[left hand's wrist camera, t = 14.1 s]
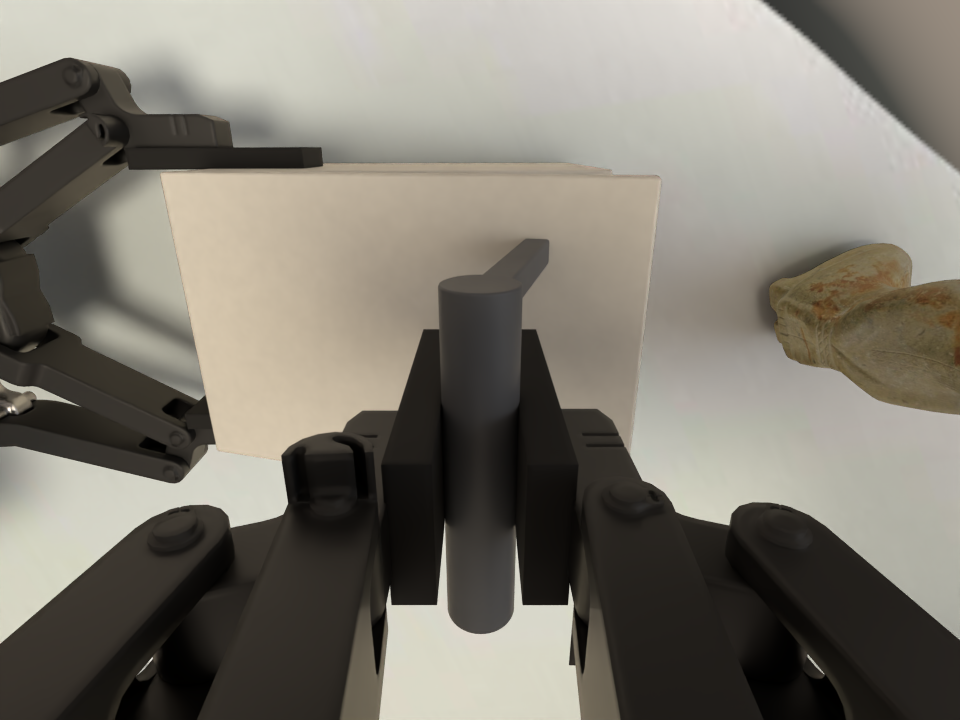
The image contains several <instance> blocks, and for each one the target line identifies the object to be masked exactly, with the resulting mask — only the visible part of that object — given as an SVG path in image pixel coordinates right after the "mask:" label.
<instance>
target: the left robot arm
mask: <svg viewBox="0 0 960 720" xmlns="http://www.w3.org/2000/svg"><path fill="white" fill-rule="evenodd" d="M281 459H282V465H283V472H284V478H285V485H286V491H287V498H288V505H287V508H286V510H285V512H284V515H281V516H279V517H277V518H273V519H270V520H266V521H262V522H258V523H253V524H248V525H243V526H238V527H233V528H230V523H229V518H228V516H227V515H226V514H225V513H224V511H223V510H222V509H220V508H217V507H213V506H209V505H189V506H183V507H180V508H179V507H178V508H174V509H170V510H168V511H166V512H164V513H161V514H159V515H157V516H154V517H152V518H150V519H149V520H147V521H146V522H144V523H143V524H141V525H140V526H138V527H137V528H135V529H134V530H133V531H132V532H130V533H129V534H128V535H127V536H126V537H125V538H123V539H122V540H121V541H120V542H119V543H118V544H116V545H115V546H114V547H113V548H112V549H111V550H109V551H108V552H107V553H106V554H105V555H104V556H102V557H101V558H100V559H99V560H98V561H97V562H95V563H94V564H93V565H92V566H91V567H90V568H88V569H87V570H86V571H85V572H84V573H83V574H81V575H80V576H79V577H78V578H77V579H76V580H74V581H73V582H72V583H71V584H70V585H69V586H67V587H66V588H65V589H64V590H63V591H62V592H60V593H59V594H58V595H57V596H56V597H55V598H53V599H52V600H51V601H50V602H49V603H48V604H46V605H45V606H44V607H43V608H42V609H41V610H39V611H38V612H37V613H36V614H35V615H33V616H32V617H31V618H30V619H29V620H28V621H26V622H25V623H24V624H23V625H22V626H21V627H19V628H18V629H17V630H16V631H15V632H14V633H12V634H11V635H10V636H9V637H8V638H7V639H5V640H4V641H3V642H2V643H1V644H0V720H379V714H380V704H381V694H382V684H383V675H384V665H385V655H386V645H387V635H388V623H387V611H386V602H387V597H388V592H389V587H390V590H391V603H392V605H437V598H438V587H439V577H440V566H441V555H442V545H443V534H444V523H445V500H444V468H443V435H442V403H441V370H440V338H439V329H423V332H422V335H421V339H420V342H419V345H418V348H417V351H416V354H415V358H414V361H413V364H412V367H411V370H410V374H409V377H408V380H407V383H406V386H405V389H404V393H403V396H402V399H401V402H400V405H399V409H398V410H376V411H361V412H360V413H358V414H357V415H356V416H354V417H353V418H352V419H350V420H349V421H348V422H347V423H346V425H345V428H344V430H343V432H330V433H322V434H317V435H313V436H310V437H307V438H304V439H301V440H300V441H298V442H296V443H294V444H293V445H291V446H289V447H288V448H287V449H286V451H285V452H284V453H283V454H282V455H281ZM515 528H516V539H517V550H518V560H519V571H520V582H521V592H522V603H523V605H568V597H569V584H570V587H571V592H572V596H573V601H574V611H573V623H572V635H571V647H570V660H569V665H576V674H577V684H578V693H579V703H580V713H581V720H960V640H959V639H958V638H957V637H955V636H954V635H953V634H952V633H951V632H949V631H948V630H947V629H946V628H945V627H944V626H942V625H941V624H940V623H939V622H938V621H937V620H935V619H934V618H933V617H932V616H931V615H929V614H928V613H927V612H926V611H925V610H924V609H922V608H921V607H920V606H919V605H918V604H916V603H915V602H914V601H913V600H912V599H911V598H909V597H908V596H907V595H906V594H905V593H904V592H902V591H901V590H900V589H899V588H898V587H896V586H895V585H894V584H893V583H892V582H891V581H889V580H888V579H887V578H886V577H885V576H883V575H882V574H881V573H880V572H879V571H878V570H876V569H875V568H874V567H873V566H872V565H871V564H869V563H868V562H867V561H866V560H865V559H863V558H862V557H861V556H860V555H859V554H858V553H856V552H855V551H854V550H853V549H852V548H850V547H849V546H848V545H847V544H846V543H845V542H843V541H842V540H841V539H840V538H839V537H838V536H836V535H835V534H834V533H833V532H832V531H830V530H829V529H828V528H827V527H826V526H824V525H823V524H821V523H820V522H818V521H817V520H815V519H814V518H812V517H811V516H809V515H807V514H805V513H802V512H800V511H798V510H795V509H793V508H791V507H788V506H784V505H779V504H774V503H755V502H752V503H749V504H745V505H742V506H739V507H738V508H737V509H736V510H735V511H734V512H733V513H732V515H731V520H730V525H729V526H728V525H723V524H718V523H714V522H709V521H704V520H699V519H695V518H691V517H688V516H684V515H681V514H679V513H677V512H675V509H674V507H673V505H672V502H671V501H670V500H669V498H668V497H667V496H666V494H665V493H664V492H663V491H661V490H660V489H658V488H657V487H655V486H654V485H652V484H650V483H647V482H644V481H642V479H641V477H640V475H639V473H638V471H637V469H636V467H635V465H634V463H633V461H632V459H631V457H630V455H629V453H628V451H627V449H626V447H624V443H623V440H622V438H621V436H619V432H618V430H617V428H616V426H615V424H614V422H613V420H612V419H610V418H609V417H608V416H606V415H605V414H604V413H602V412H601V411H600V410H598V409H561V407H560V404H559V401H558V397H557V394H556V391H555V388H554V385H553V381H552V378H551V375H550V372H549V369H548V366H547V362H546V359H545V356H544V353H543V350H542V346H541V343H540V340H539V337H538V334H537V331H536V329H522V337H521V372H520V402H519V412H518V447H517V482H516V516H515ZM807 655H809V656H810V657H811V658H812V659H813V661H814V662H815V663H816V664H817V665H818V666H819V668H820V669H821V670H822V671H823V672H824V674H825V675H824V674H823V673H822V672H820V671H819V670H818V669H817V668H816V667H815V666H814V664H813V663H812V662H811V661H810V660H809V658H808V657H807ZM152 657H153V660H152V661H151V662H150V663H149V664H148V666H147V667H146V668H145V669H144V670H143V671H142V672H141V673H140V674H138V673H139V672H140V671H141V670H142V669H143V667H144V666H145V665H146V664H147V663H148V661H149V660H150V659H151V658H152ZM137 674H138V675H137Z"/></svg>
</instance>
